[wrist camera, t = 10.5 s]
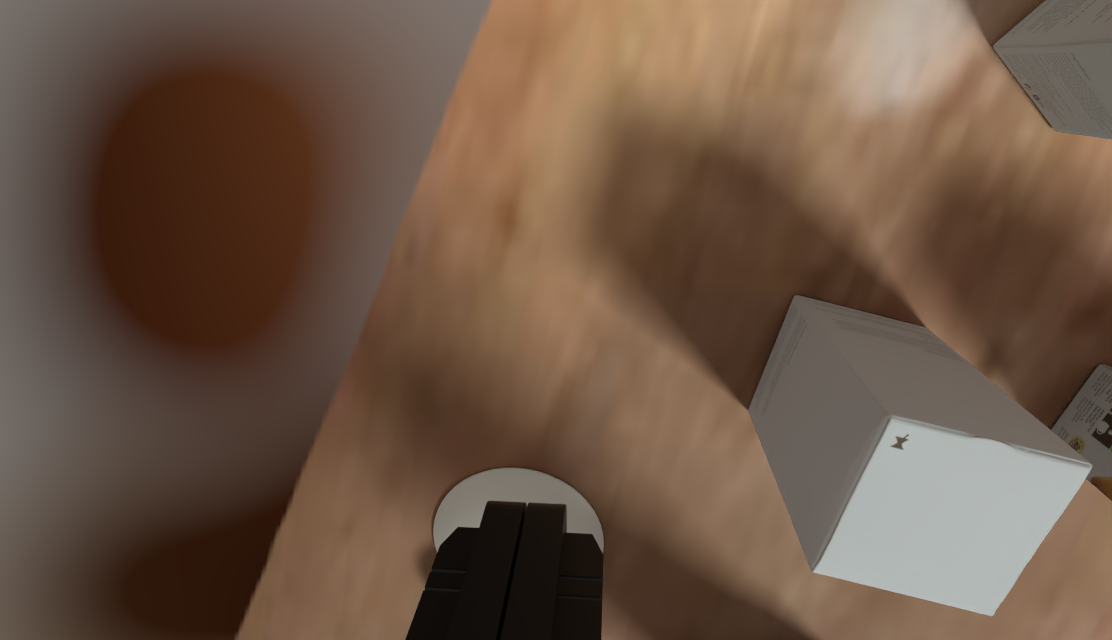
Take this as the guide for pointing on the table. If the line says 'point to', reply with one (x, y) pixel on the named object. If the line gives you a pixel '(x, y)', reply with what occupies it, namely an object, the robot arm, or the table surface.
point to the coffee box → (1092, 427)
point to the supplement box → (906, 458)
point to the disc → (512, 486)
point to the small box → (1065, 63)
